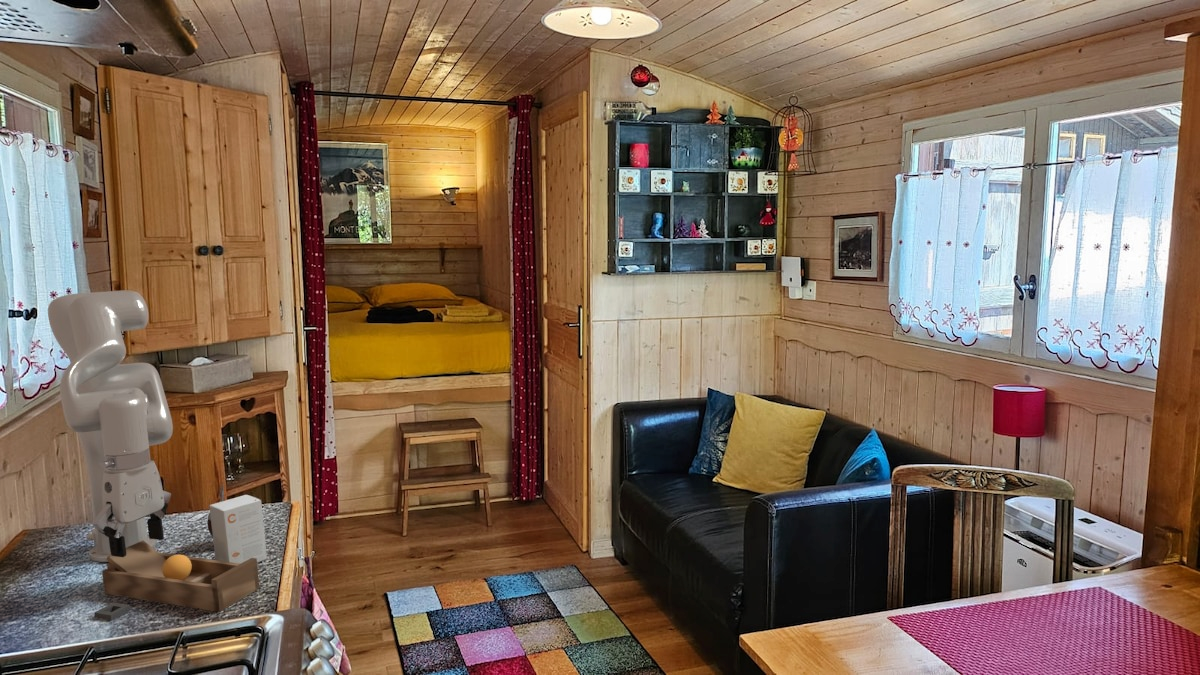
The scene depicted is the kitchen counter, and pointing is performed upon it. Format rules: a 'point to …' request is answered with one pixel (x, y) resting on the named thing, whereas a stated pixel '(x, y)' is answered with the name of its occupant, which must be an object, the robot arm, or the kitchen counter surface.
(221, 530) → the small box
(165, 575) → the ball
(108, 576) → the brown long open tray
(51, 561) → the kitchen counter surface
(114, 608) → the square washer
